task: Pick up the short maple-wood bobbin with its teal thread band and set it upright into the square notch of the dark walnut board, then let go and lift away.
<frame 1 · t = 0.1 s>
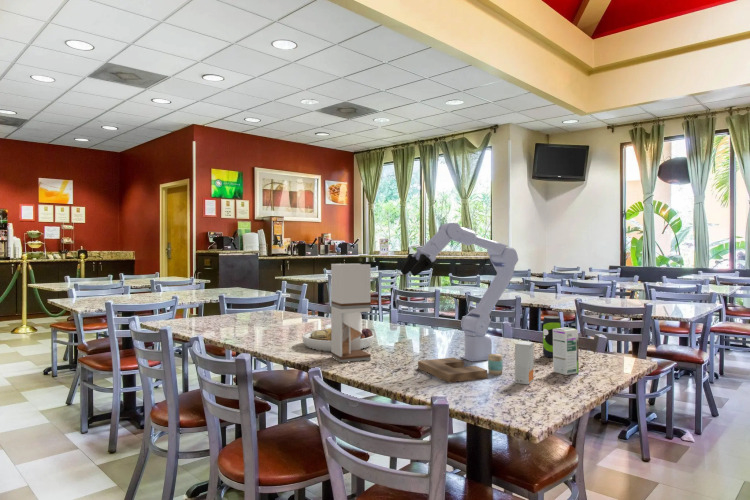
hand: (407, 273, 178), 32 cm above the table, tool tilted 50°, fingers open, 7 cm apart
notched board: (451, 373, 168), on the table
beverage can: (551, 357, 193), on the table
white cutaway tower: (350, 359, 189), on the table
bowl: (338, 346, 215), on the table
skincare box: (524, 382, 157), on the table
syrup box: (565, 373, 168), on the table
wooden bobbin: (495, 373, 167), on the table
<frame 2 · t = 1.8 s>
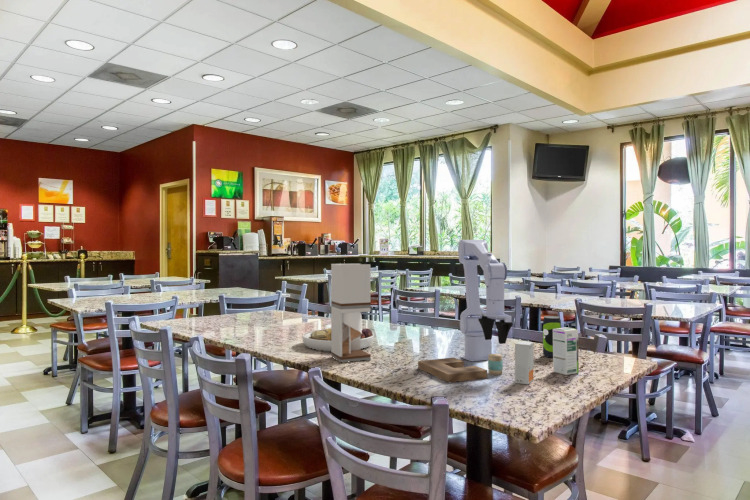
hand: (495, 341, 167), 10 cm above the table, tool pointing down, fingers open, 7 cm apart
nothing on the table moved.
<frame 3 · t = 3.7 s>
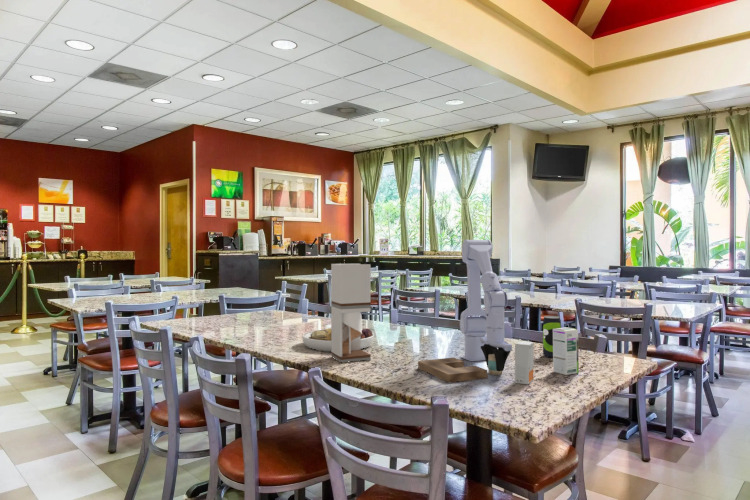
hand: (495, 369, 167), 1 cm above the table, tool pointing down, fingers closed on wooden bobbin, 5 cm apart
wooden bobbin: (495, 373, 167), on the table, touching gripper
everything else where it was.
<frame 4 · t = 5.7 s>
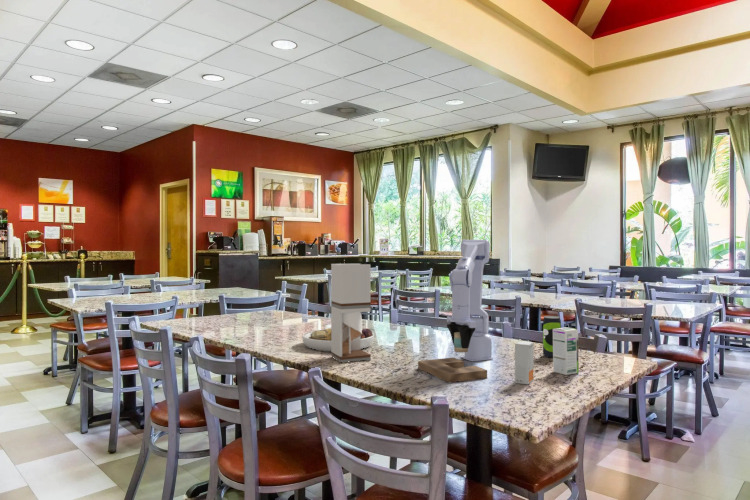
hand: (460, 346, 169), 8 cm above the table, tool pointing down, fingers closed on wooden bobbin, 5 cm apart
wooden bobbin: (461, 351, 169), point 7 cm above the table, touching gripper
everything else where it was.
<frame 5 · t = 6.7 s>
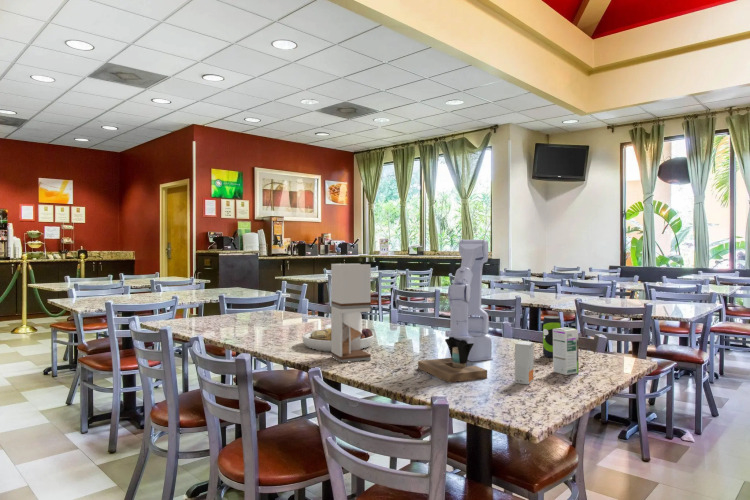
hand: (459, 361, 169), 3 cm above the table, tool pointing down, fingers closed on wooden bobbin, 5 cm apart
wooden bobbin: (459, 366, 169), point 2 cm above the table, touching gripper
everything else where it was.
when the fingers open (3 cm above the table, at t = 7.6 s): wooden bobbin drops 2 cm, resting in notched board.
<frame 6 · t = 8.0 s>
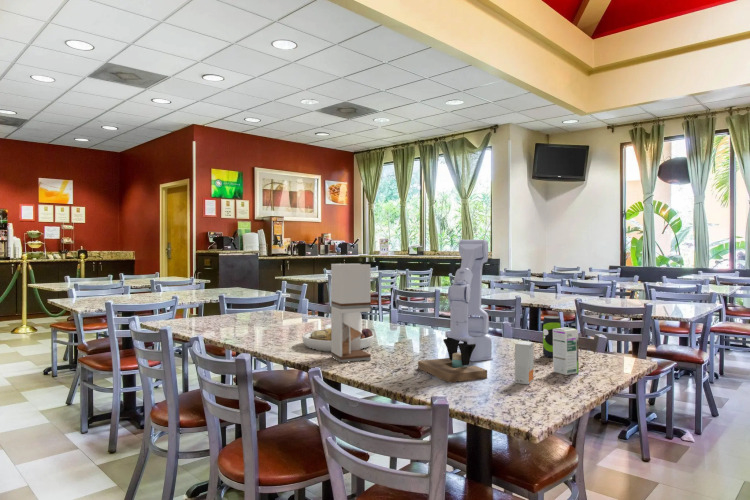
hand: (459, 362, 169), 3 cm above the table, tool pointing down, fingers open, 7 cm apart
wooden bobbin: (459, 372, 169), resting in notched board
everything else where it was.
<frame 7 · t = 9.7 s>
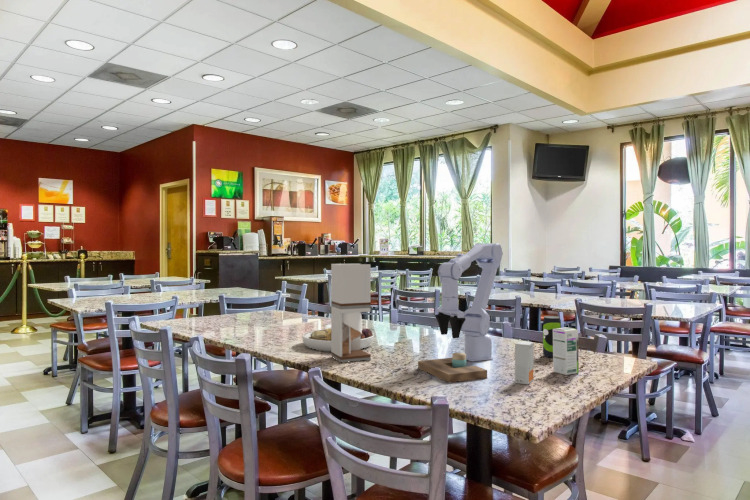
hand: (449, 336, 178), 10 cm above the table, tool pointing down, fingers open, 7 cm apart
nothing on the table moved.
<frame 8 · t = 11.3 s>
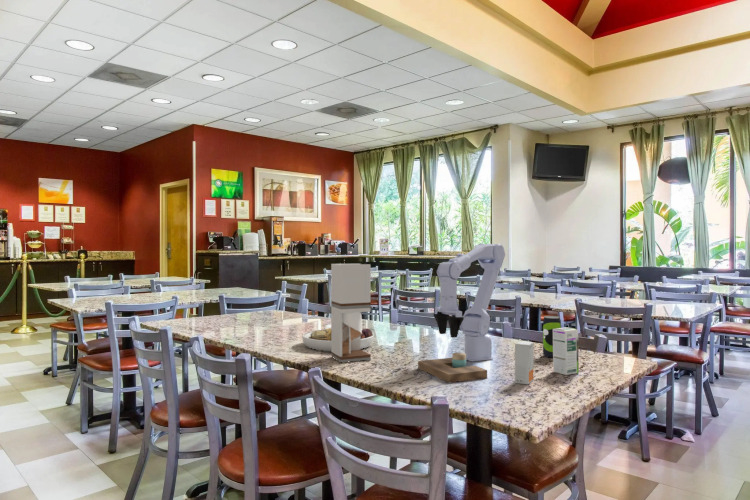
hand: (448, 335, 179), 10 cm above the table, tool pointing down, fingers open, 7 cm apart
nothing on the table moved.
at the end: wooden bobbin 0.1 cm from the target spot on the notched board, point 0.0 cm above the notched board's base; wooden bobbin tilted 0°; the gripper is holding nothing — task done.
